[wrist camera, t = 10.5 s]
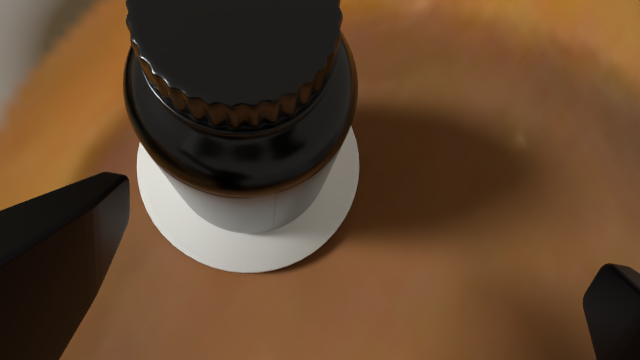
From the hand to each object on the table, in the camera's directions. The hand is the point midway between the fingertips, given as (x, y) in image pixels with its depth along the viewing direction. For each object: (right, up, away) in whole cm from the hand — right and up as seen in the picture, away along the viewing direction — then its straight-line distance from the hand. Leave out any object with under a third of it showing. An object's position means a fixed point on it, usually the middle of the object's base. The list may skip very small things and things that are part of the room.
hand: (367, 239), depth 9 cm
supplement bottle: (-4, +2, +13) cm, 14 cm away
